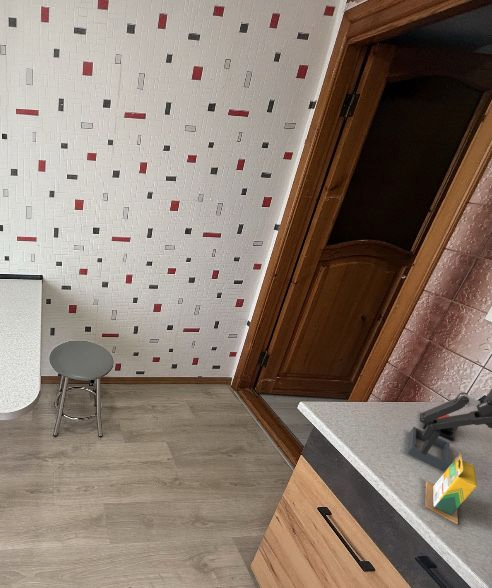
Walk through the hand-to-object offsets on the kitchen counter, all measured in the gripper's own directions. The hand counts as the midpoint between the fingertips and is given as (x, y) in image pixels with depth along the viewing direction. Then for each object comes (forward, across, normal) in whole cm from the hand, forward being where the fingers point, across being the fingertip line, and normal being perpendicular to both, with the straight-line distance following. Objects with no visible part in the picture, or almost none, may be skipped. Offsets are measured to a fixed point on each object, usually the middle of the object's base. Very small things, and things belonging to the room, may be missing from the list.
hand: (466, 470), depth 71 cm
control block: (+10, -1, +33) cm, 35 cm away
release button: (+8, -1, +33) cm, 34 cm away
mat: (+10, 0, -1) cm, 10 cm away
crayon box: (+10, 0, 0) cm, 10 cm away
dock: (+10, -3, +18) cm, 20 cm away
